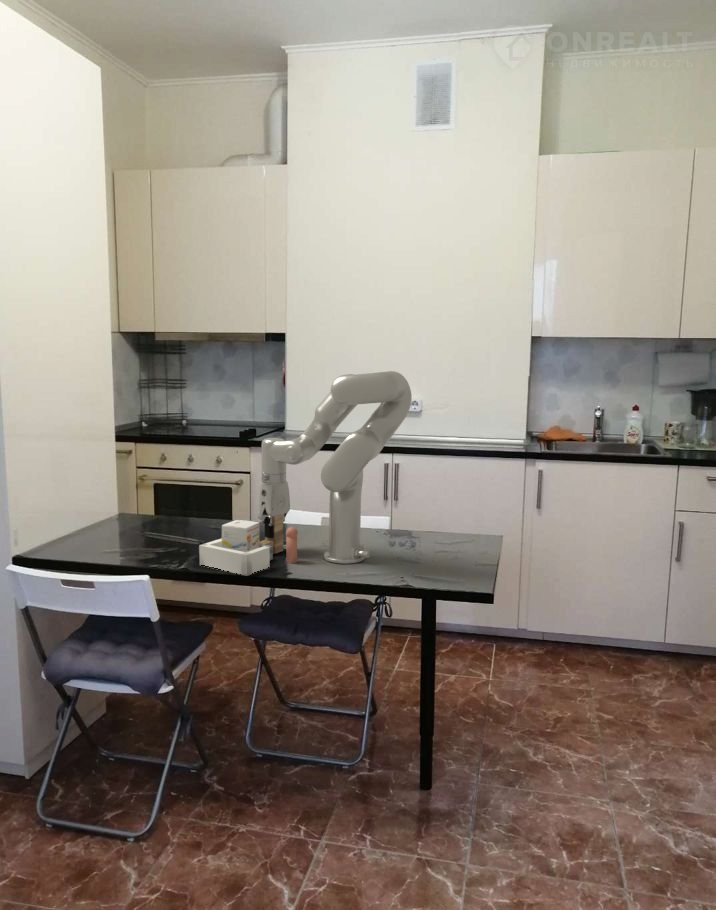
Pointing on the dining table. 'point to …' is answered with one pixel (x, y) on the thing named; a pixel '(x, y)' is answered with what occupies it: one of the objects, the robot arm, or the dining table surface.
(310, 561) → the dining table surface
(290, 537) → the figure left
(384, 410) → the robot arm
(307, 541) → the dining table surface
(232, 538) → the ink box
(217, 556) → the frame
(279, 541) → the kicker
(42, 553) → the dining table surface
